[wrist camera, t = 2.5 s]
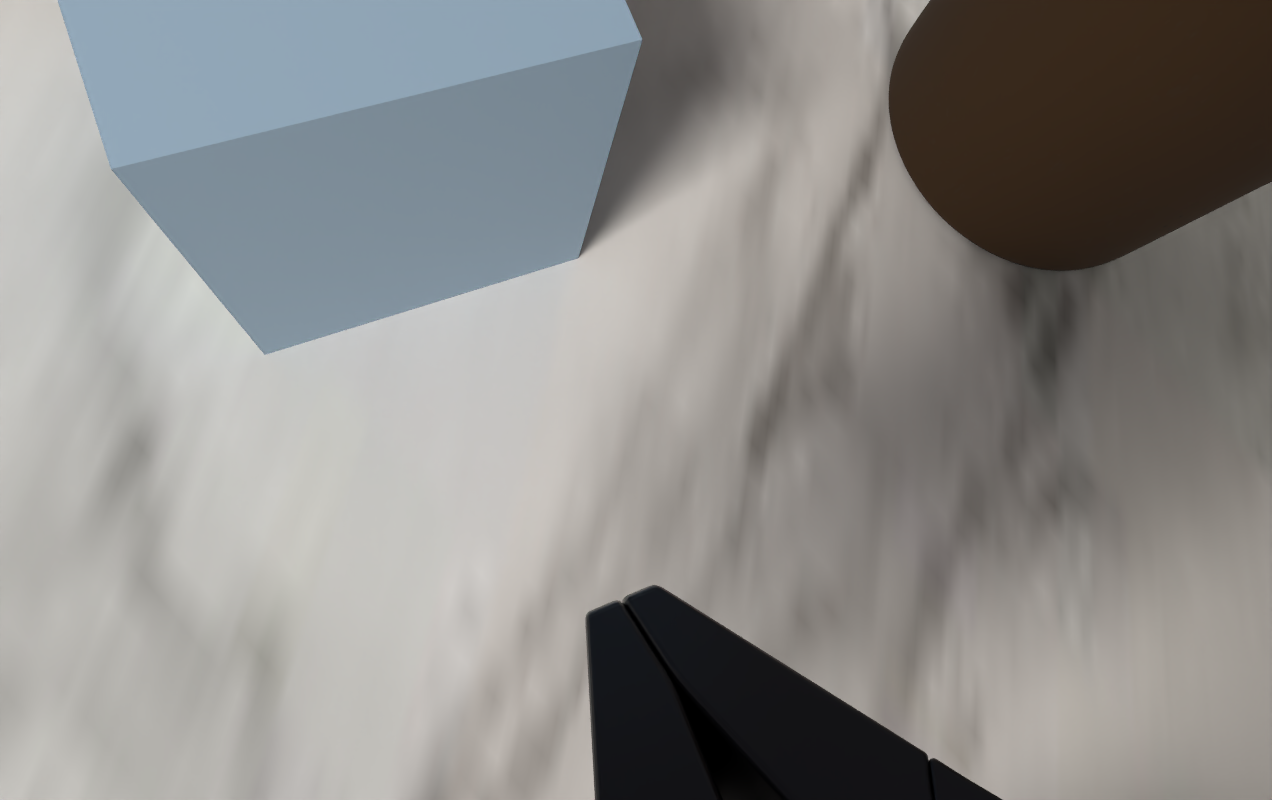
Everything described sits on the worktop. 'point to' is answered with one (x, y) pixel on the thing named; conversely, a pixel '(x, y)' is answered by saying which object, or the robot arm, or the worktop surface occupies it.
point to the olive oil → (1083, 119)
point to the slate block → (357, 142)
